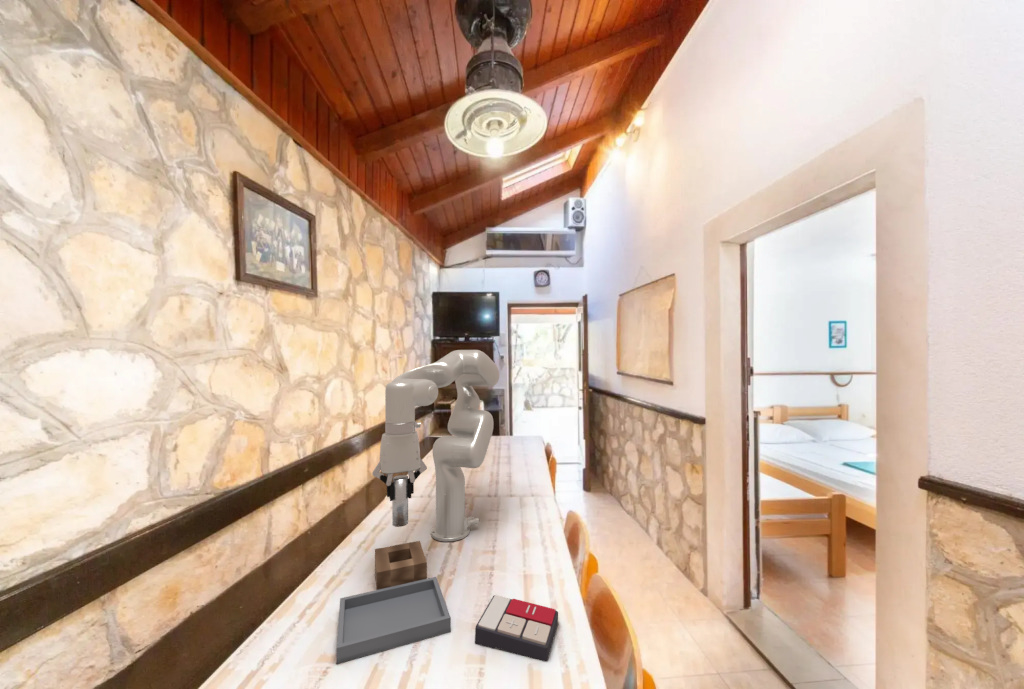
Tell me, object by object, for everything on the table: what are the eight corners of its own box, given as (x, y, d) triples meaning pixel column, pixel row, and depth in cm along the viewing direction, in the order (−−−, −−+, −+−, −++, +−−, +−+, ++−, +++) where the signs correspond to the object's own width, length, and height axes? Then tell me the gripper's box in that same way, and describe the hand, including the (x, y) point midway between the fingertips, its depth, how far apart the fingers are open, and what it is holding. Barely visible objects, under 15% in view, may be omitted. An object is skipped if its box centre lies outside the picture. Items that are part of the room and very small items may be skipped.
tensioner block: (419, 562, 107) (419, 540, 108) (426, 586, 96) (426, 562, 96) (374, 571, 103) (374, 549, 103) (376, 597, 92) (376, 572, 92)
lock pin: (407, 518, 103) (407, 474, 103) (409, 525, 99) (409, 478, 99) (391, 521, 101) (391, 476, 101) (393, 527, 97) (393, 480, 98)
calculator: (547, 644, 72) (474, 623, 77) (546, 667, 72) (473, 644, 77) (558, 607, 83) (494, 590, 88) (558, 627, 83) (493, 609, 88)
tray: (436, 588, 95) (436, 576, 95) (450, 631, 80) (450, 617, 80) (340, 611, 87) (340, 598, 87) (336, 664, 72) (336, 648, 72)
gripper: (429, 423, 107) (429, 488, 107) (366, 428, 101) (366, 497, 101) (434, 428, 100) (434, 498, 100) (366, 433, 94) (366, 508, 94)
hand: (400, 497), depth 100 cm, fingers closed on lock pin, 4 cm apart
